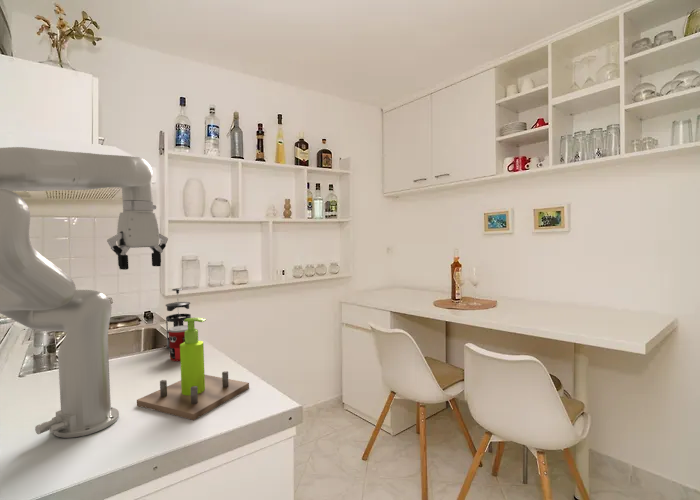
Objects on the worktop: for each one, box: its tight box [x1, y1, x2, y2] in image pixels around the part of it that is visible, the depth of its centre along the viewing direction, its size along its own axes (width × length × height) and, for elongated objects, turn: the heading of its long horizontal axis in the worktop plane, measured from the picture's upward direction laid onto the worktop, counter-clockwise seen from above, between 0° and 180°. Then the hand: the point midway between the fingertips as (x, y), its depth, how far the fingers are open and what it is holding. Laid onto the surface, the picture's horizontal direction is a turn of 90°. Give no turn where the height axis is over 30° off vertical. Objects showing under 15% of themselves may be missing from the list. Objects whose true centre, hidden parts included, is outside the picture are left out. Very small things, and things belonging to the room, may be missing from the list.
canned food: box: [168, 324, 188, 362], centre depth 134 cm, size 8×8×11 cm
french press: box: [165, 287, 192, 350], centre depth 149 cm, size 12×9×23 cm
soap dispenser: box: [179, 317, 207, 395], centre depth 101 cm, size 6×7×20 cm
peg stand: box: [136, 370, 250, 421], centre depth 102 cm, size 20×20×6 cm
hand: (140, 267), depth 107 cm, fingers open, 9 cm apart
